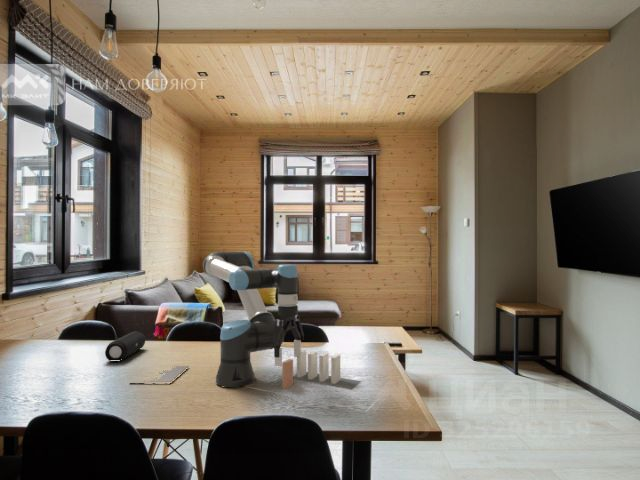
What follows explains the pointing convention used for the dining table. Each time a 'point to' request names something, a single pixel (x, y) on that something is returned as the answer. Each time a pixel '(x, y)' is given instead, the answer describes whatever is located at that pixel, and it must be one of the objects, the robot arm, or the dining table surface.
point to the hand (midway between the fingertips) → (288, 361)
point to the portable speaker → (125, 346)
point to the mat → (342, 383)
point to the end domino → (287, 373)
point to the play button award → (170, 374)
